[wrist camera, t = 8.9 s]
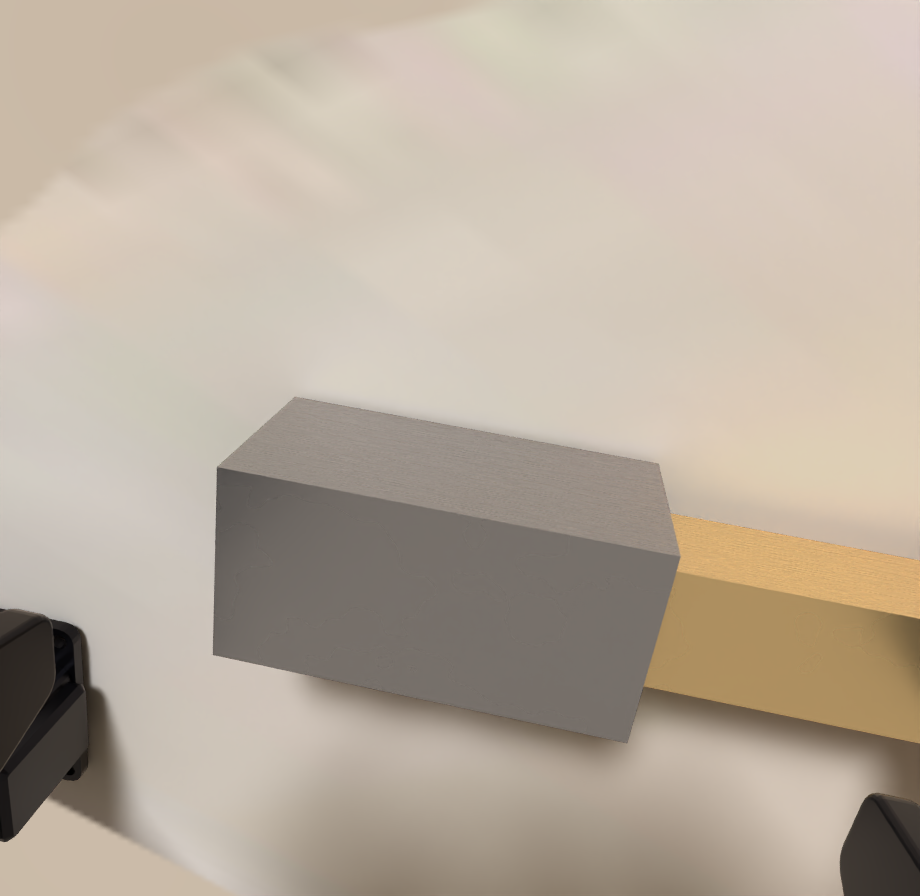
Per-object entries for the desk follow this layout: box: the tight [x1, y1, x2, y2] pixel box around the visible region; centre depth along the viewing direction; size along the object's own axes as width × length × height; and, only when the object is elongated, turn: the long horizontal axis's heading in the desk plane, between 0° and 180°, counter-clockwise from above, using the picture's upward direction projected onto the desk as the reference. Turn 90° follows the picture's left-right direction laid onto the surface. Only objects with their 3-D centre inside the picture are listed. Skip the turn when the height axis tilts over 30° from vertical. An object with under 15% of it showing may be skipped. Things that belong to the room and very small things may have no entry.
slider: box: [644, 513, 920, 743], centre depth 16 cm, size 15×3×9 cm, turn 82°
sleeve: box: [213, 397, 681, 743], centre depth 20 cm, size 10×5×5 cm, turn 82°
